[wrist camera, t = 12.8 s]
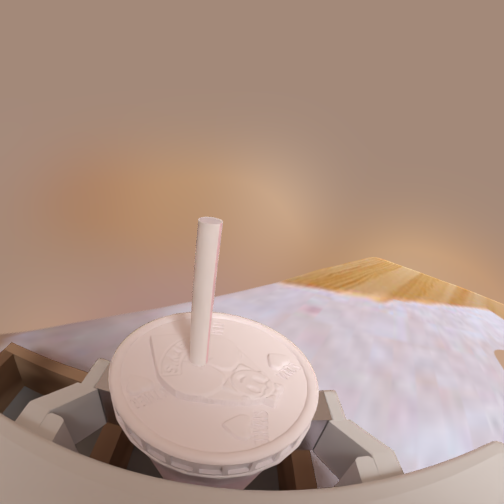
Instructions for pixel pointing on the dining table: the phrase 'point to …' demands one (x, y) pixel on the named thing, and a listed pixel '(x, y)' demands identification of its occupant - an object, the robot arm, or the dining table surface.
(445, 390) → the dining table surface
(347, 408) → the dining table surface
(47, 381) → the tray
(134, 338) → the smoothie
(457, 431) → the dining table surface
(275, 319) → the dining table surface
